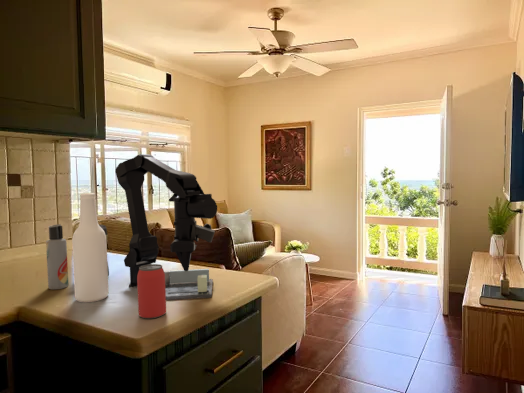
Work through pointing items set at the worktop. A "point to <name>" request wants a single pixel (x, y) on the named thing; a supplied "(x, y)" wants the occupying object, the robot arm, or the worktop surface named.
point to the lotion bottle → (57, 258)
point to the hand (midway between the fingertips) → (186, 270)
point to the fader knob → (202, 283)
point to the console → (187, 290)
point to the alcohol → (89, 254)
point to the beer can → (151, 291)
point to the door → (184, 275)
